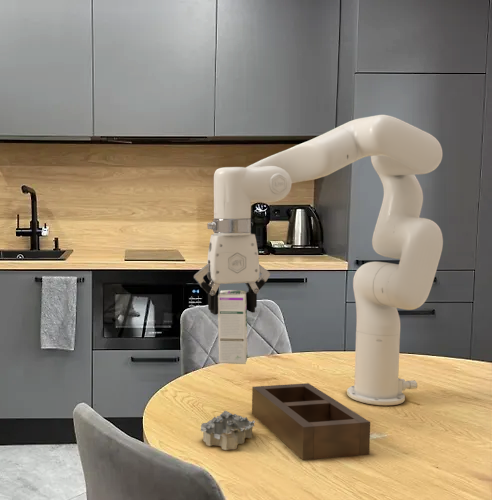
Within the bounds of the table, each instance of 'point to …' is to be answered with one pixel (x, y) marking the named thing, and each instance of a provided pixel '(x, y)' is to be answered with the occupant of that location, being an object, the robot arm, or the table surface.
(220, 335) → the syrup box
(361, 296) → the robot arm
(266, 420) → the holder
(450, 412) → the table surface
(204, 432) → the egg carton
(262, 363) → the table surface
